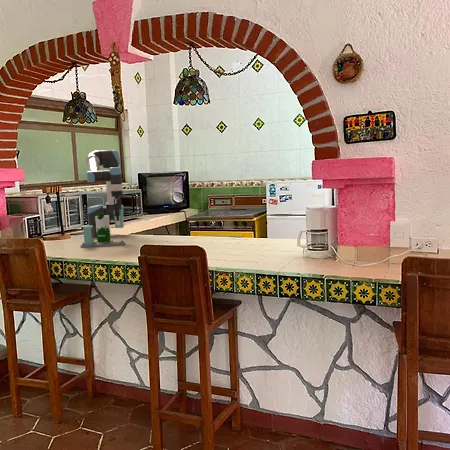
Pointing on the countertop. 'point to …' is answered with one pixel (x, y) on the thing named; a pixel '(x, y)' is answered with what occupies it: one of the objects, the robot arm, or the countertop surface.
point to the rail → (104, 244)
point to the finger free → (120, 218)
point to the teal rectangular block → (88, 235)
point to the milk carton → (102, 227)
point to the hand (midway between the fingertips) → (119, 224)
